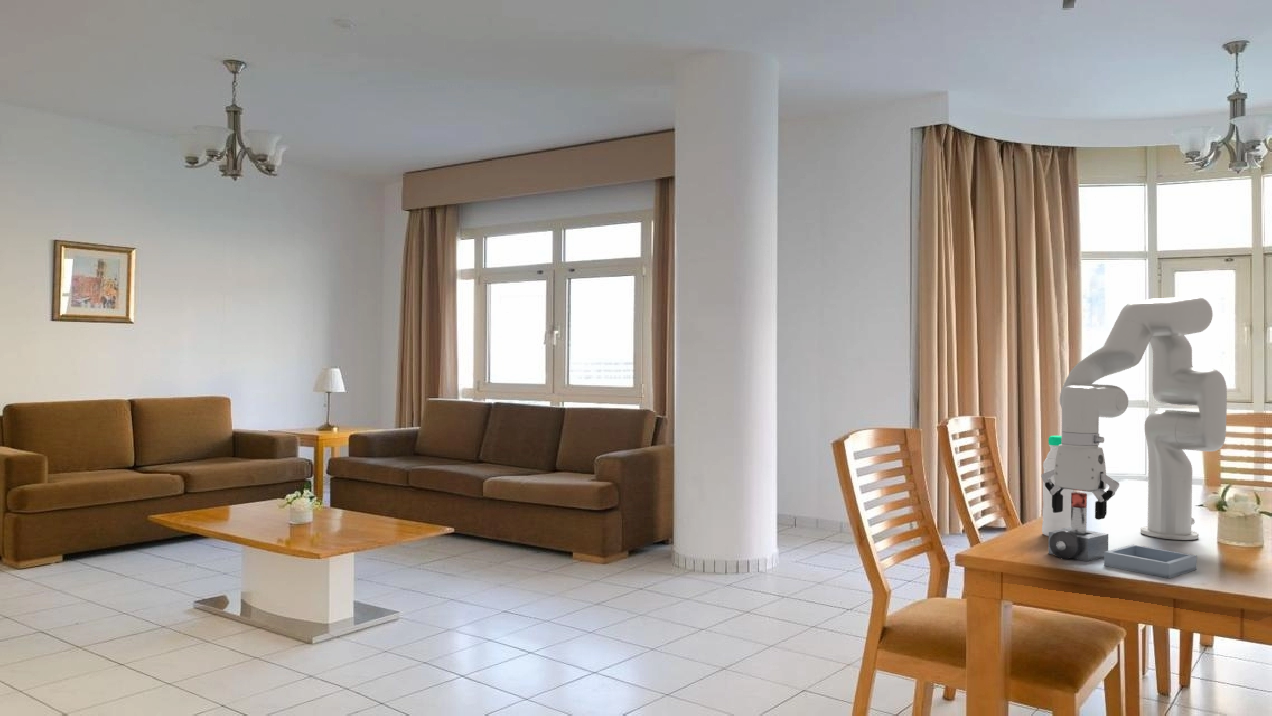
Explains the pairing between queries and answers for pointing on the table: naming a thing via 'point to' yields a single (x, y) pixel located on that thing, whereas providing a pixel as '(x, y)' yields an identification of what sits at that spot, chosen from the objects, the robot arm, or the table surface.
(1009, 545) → the table surface
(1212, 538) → the table surface
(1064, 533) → the tensioner block
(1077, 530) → the pin
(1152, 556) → the tray
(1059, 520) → the water bottle
